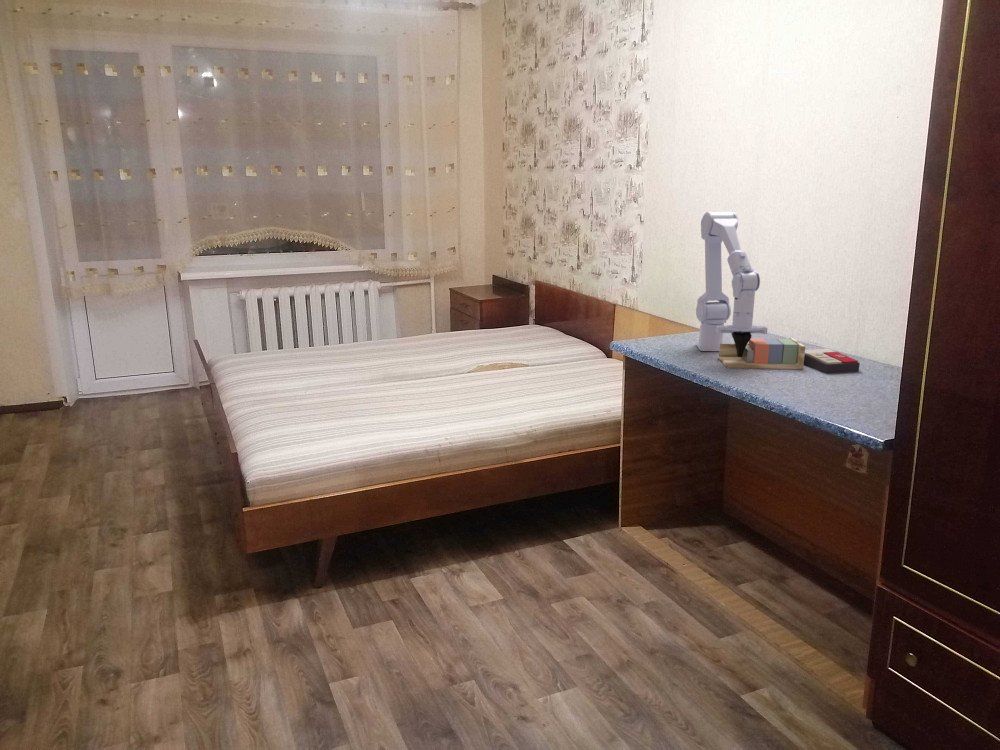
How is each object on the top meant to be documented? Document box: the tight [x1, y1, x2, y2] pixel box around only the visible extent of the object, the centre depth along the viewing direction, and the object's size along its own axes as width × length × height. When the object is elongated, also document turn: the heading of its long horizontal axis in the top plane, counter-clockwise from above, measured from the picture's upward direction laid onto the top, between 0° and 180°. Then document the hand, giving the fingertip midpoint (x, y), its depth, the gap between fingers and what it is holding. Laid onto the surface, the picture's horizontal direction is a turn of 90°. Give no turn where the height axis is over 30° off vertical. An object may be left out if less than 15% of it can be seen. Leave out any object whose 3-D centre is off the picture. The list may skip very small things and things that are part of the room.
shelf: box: [718, 337, 806, 370], centre depth 227 cm, size 12×22×7 cm, turn 86°
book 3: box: [776, 338, 798, 364], centre depth 227 cm, size 8×4×6 cm, turn 176°
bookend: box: [741, 345, 755, 363], centre depth 228 cm, size 7×2×4 cm, turn 176°
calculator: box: [804, 348, 861, 374], centre depth 224 cm, size 11×4×15 cm
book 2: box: [762, 338, 783, 364], centre depth 227 cm, size 8×4×6 cm, turn 176°
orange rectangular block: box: [748, 338, 769, 364], centre depth 228 cm, size 8×4×6 cm, turn 176°
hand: (739, 356), depth 229 cm, fingers closed
